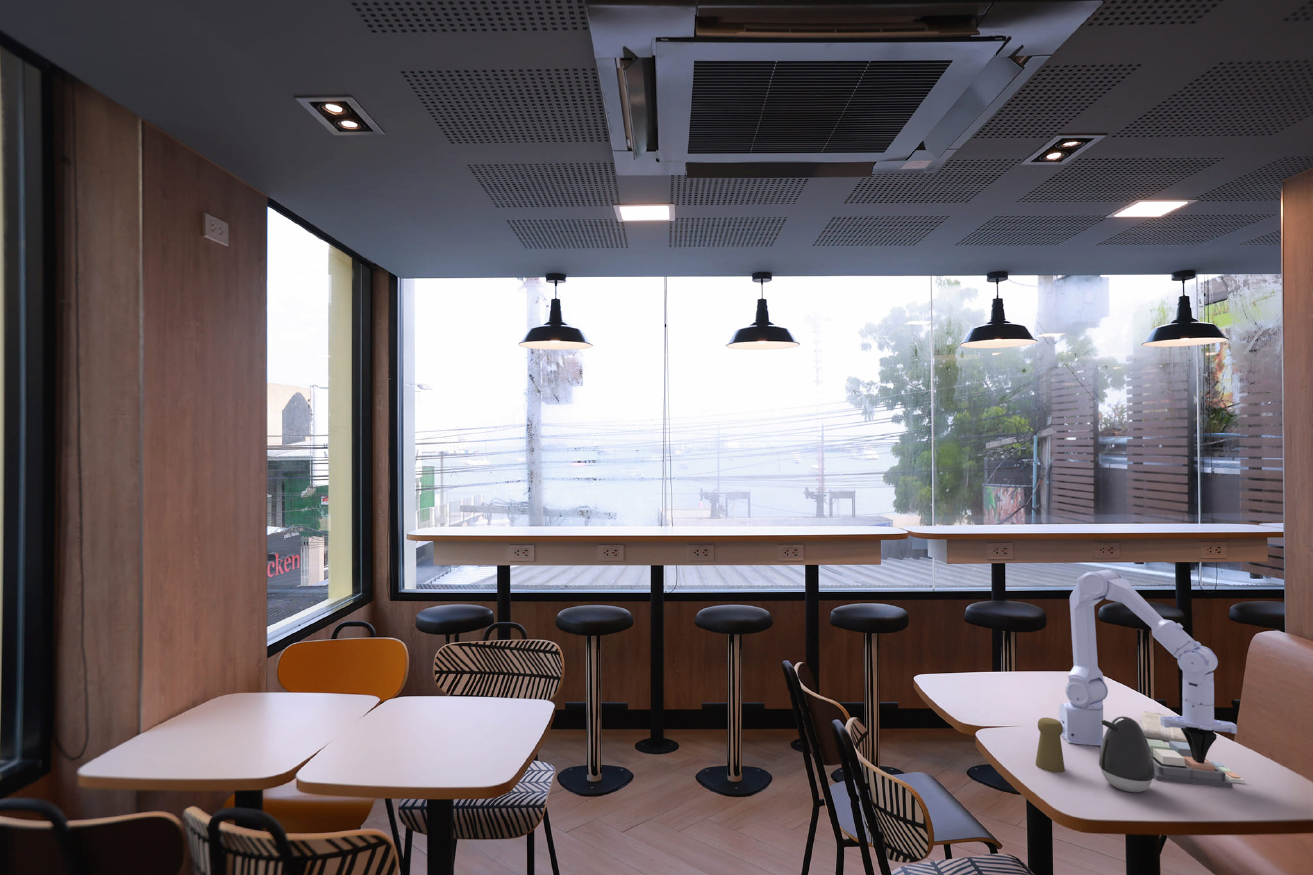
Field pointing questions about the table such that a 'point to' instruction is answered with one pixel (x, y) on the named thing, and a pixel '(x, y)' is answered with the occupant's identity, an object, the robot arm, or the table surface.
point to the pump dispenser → (1126, 755)
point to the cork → (1050, 746)
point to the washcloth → (1160, 728)
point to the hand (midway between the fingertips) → (1198, 761)
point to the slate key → (1181, 748)
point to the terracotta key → (1199, 764)
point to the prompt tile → (1228, 773)
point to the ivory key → (1169, 757)
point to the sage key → (1157, 745)
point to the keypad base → (1190, 775)
